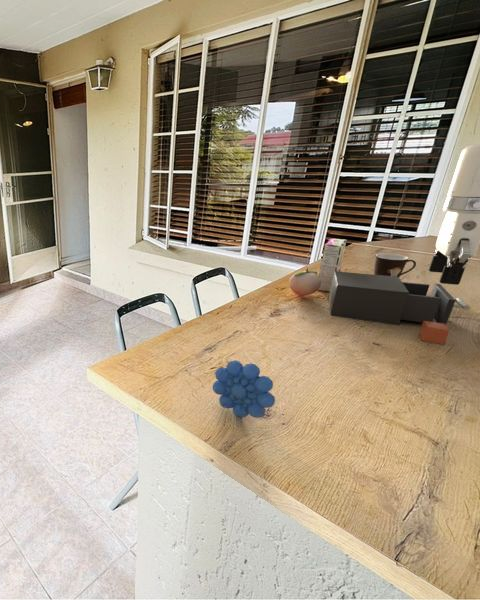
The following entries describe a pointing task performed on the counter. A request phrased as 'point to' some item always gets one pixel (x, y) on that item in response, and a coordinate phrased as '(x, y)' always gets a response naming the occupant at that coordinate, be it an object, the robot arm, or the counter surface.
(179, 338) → the counter surface
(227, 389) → the blue bumpy cluster
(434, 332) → the block
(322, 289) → the candy bar box
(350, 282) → the cabinet
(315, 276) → the decorative fruit
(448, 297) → the drawer
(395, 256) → the coffee mug
